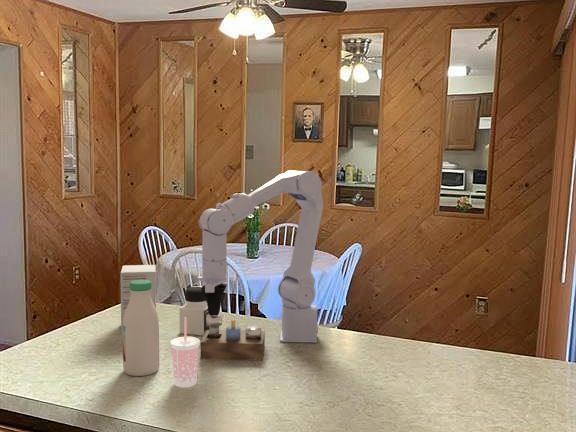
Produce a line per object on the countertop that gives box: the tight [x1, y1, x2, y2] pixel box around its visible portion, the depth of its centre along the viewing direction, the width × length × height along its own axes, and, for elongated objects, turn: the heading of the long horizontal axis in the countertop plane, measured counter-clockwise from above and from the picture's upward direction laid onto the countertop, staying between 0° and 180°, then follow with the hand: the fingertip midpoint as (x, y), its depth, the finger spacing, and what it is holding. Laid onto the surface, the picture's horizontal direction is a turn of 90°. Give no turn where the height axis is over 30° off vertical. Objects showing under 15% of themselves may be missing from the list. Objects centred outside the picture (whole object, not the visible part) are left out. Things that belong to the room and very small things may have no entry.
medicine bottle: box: [179, 285, 209, 336], centre depth 145 cm, size 7×7×12 cm
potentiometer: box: [225, 319, 241, 340], centre depth 128 cm, size 3×3×4 cm
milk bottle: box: [122, 280, 160, 377], centre depth 117 cm, size 8×8×20 cm
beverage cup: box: [170, 317, 201, 388], centre depth 111 cm, size 6×6×14 cm
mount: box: [200, 329, 266, 361], centre depth 130 cm, size 14×9×4 cm, turn 89°
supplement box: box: [119, 264, 157, 335], centre depth 146 cm, size 10×9×17 cm
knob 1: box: [206, 313, 223, 339], centre depth 129 cm, size 4×4×6 cm
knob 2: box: [245, 325, 262, 340], centre depth 129 cm, size 4×4×6 cm
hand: (214, 314), depth 129 cm, fingers closed
